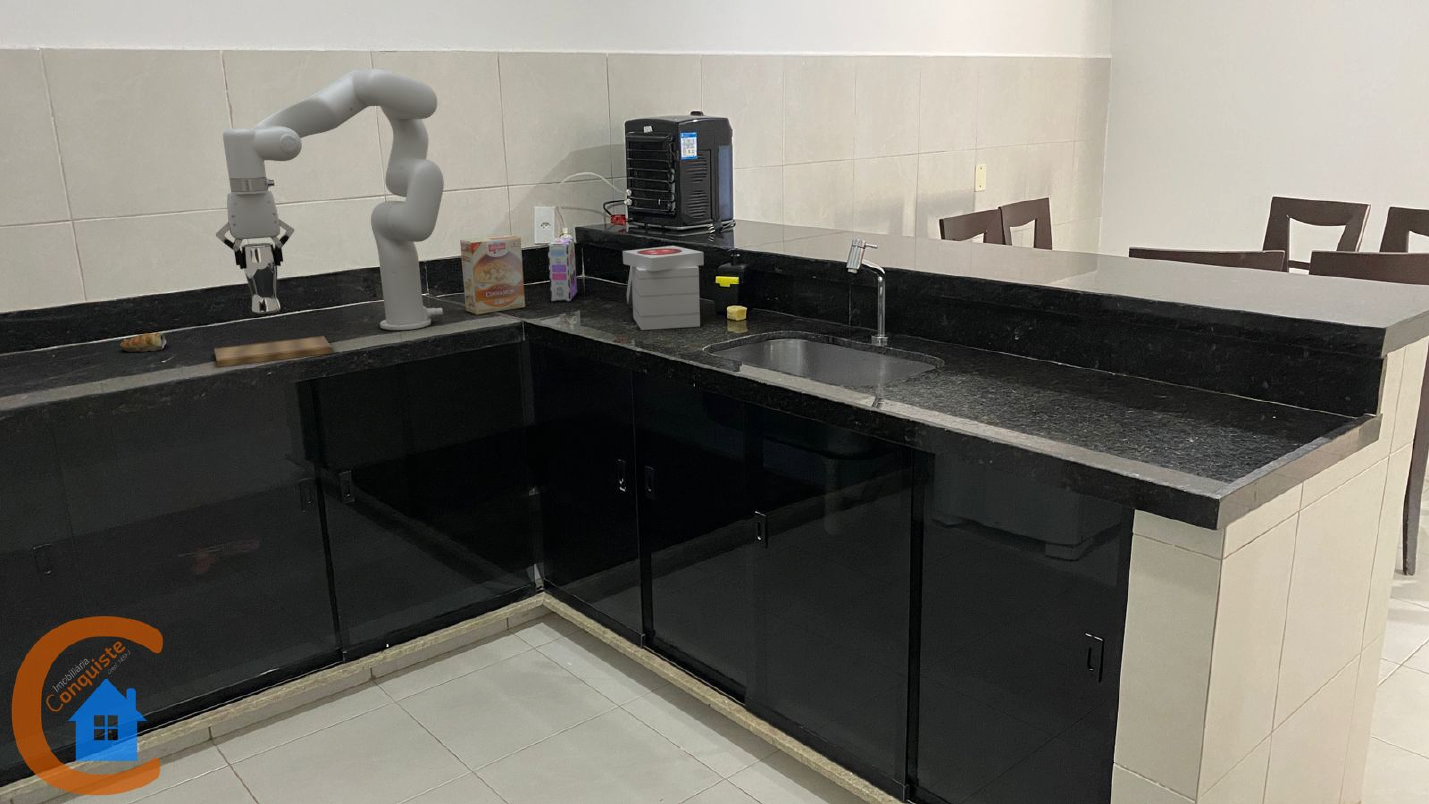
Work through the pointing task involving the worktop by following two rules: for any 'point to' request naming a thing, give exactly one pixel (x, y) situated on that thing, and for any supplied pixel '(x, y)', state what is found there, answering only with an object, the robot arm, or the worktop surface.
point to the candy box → (562, 269)
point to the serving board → (272, 351)
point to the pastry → (144, 342)
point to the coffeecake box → (492, 274)
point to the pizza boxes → (664, 286)
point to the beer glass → (261, 276)
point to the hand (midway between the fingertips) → (260, 266)
